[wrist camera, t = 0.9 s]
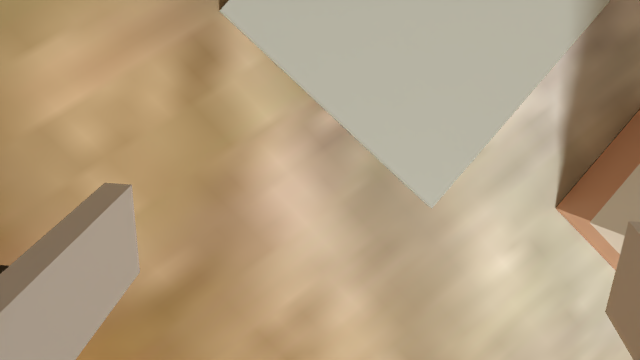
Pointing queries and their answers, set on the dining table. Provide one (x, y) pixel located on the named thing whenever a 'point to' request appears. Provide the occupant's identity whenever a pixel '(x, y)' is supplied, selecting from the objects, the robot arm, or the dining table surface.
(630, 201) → the cover
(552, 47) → the mat
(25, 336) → the robot arm
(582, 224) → the dish
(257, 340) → the dining table surface
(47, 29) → the dining table surface
